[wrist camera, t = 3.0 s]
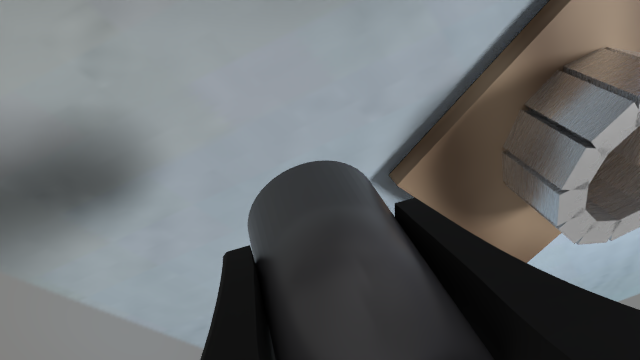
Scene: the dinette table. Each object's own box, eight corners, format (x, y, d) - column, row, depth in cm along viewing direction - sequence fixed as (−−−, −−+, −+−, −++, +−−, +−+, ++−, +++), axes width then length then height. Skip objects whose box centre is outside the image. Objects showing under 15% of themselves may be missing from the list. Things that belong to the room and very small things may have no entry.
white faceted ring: (618, 8, 18) (711, 30, 15) (667, 110, 23) (745, 143, 20) (473, 156, 20) (527, 201, 17) (545, 219, 25) (597, 264, 22)
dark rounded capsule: (305, 135, 10) (413, 328, 6) (399, 196, 13) (534, 372, 8) (220, 240, 11) (249, 476, 7) (320, 279, 14) (395, 478, 9)
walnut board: (648, -107, 16) (671, -108, 16) (711, 80, 24) (729, 86, 23) (388, 175, 21) (396, 185, 20) (511, 258, 28) (520, 268, 28)
